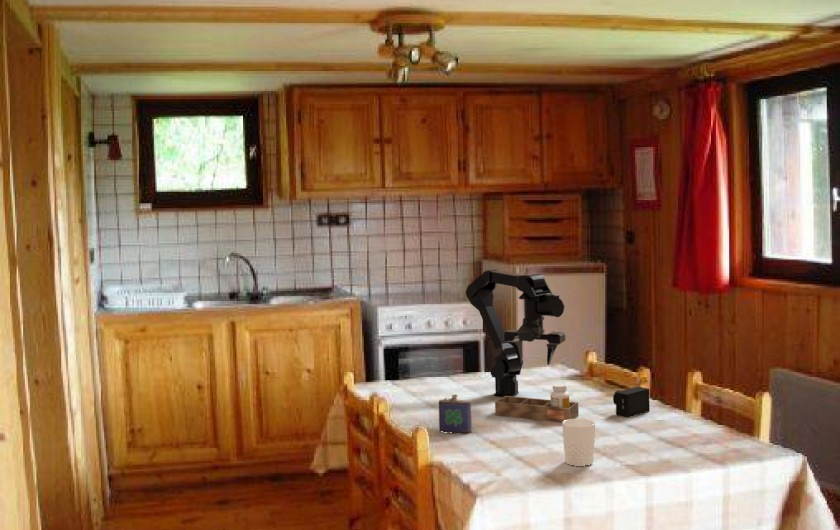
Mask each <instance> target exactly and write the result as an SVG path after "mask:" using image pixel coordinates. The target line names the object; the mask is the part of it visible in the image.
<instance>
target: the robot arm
mask: <svg viewBox="0 0 840 530" xmlns="http://www.w3.org/2000/svg"><path fill="white" fill-rule="evenodd" d="M544 277H545V276H544V275H543V274H542V273H527V274H521V273H520V274H519V273H515V272H514V273H513V272H509V271H504V270H499V269H487V270H485V271H483V273H481V275H479V276H478V277H477V278H475V279H474V280H472V282H471V283H469V284H468V285H467V287H466V290H465V295H466V297H467V300H468V301H469V302H470V303H469V304H471V306H473V307H474V308H475V309H477V310H478V312H479V313H480V316H481V319H482V321H483V323H484V326H485V328H486V331H487V333H488V335H489V338H490V340H491V342H492V344H493V347H494V363H495V364H494V365H493V366H492V367H491V369H490V370H489V371H490V376H491V378H494V385H495V389H494V390H495V393H493V396H496V397H505V396H512V397H515V396H517V394H519V393H520V391H519V380H517V376H519V375H521V370H522V368H523V364H524V360H523V357H524V356H523V355H524V354H523V352H524V351H523V342H529V343H532V342H534V341H535V340H538V341H539V340H540V341H547V342H548V343H546V347H547V356H546V357H547V358H546V361H547V363H546V364H547V365H548V366H549V365H550V364H551V362H552V359H553V357H554V354H555V352H556V349H557V347H558V346H559V345H561V344H562V343H563V342H565V341H566V334H565V332H563V331H551V332H549V333H545V329H544V321H545V316H546V317H551V318H553V317H554V318H560V317H561V316H562V315H563V314H564V311H565V304H564V302H563V300H562V299H561V298H560V295H559V294H556V293H555V294H554V293H553V292H552V289H551V288H550V287H549V285H548V282H547V281H546V280H545V278H544ZM497 284H499V285H503V286H508V287H513V288H516V289H517V290H518V291H520V292H522V293H521V295H519V297H518V300H523V309H524V315H523V316H524V317H523V318H522V324H521V325H520V327H518V329H508V330H506V331H505V330H504V328H503V325H502V323H501V321H500V319H499V316H498V313H497V310H496V309H495V307H494V297H495V296H494V293H493V292H494V291H495V290H496V289H497Z"/></svg>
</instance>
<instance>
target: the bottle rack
mask: <svg viewBox="0 0 840 530" xmlns="http://www.w3.org/2000/svg"><path fill="white" fill-rule="evenodd" d="M494 411H495V412H494V413H495V414H494V415H495V416H499V415H500V416H502V417H509V416H511V417H512V418H518V419H519V418H521V419H530V420H539V421H540V420H541V421H551V422H560V423H562V422H563V421H565V420H568V419H577V418H578V417H579V416H580V413H579V402H576V401H569V408H560V407H551V399H545V398H544V399H542V398H533V397H524V396H523V397H521V396H520V397H519V396H513V397H512V396H505V397H504V396H502V397H501V398H499V399H497V400H496V401H495V402H494ZM511 417H510V418H511Z"/></svg>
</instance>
